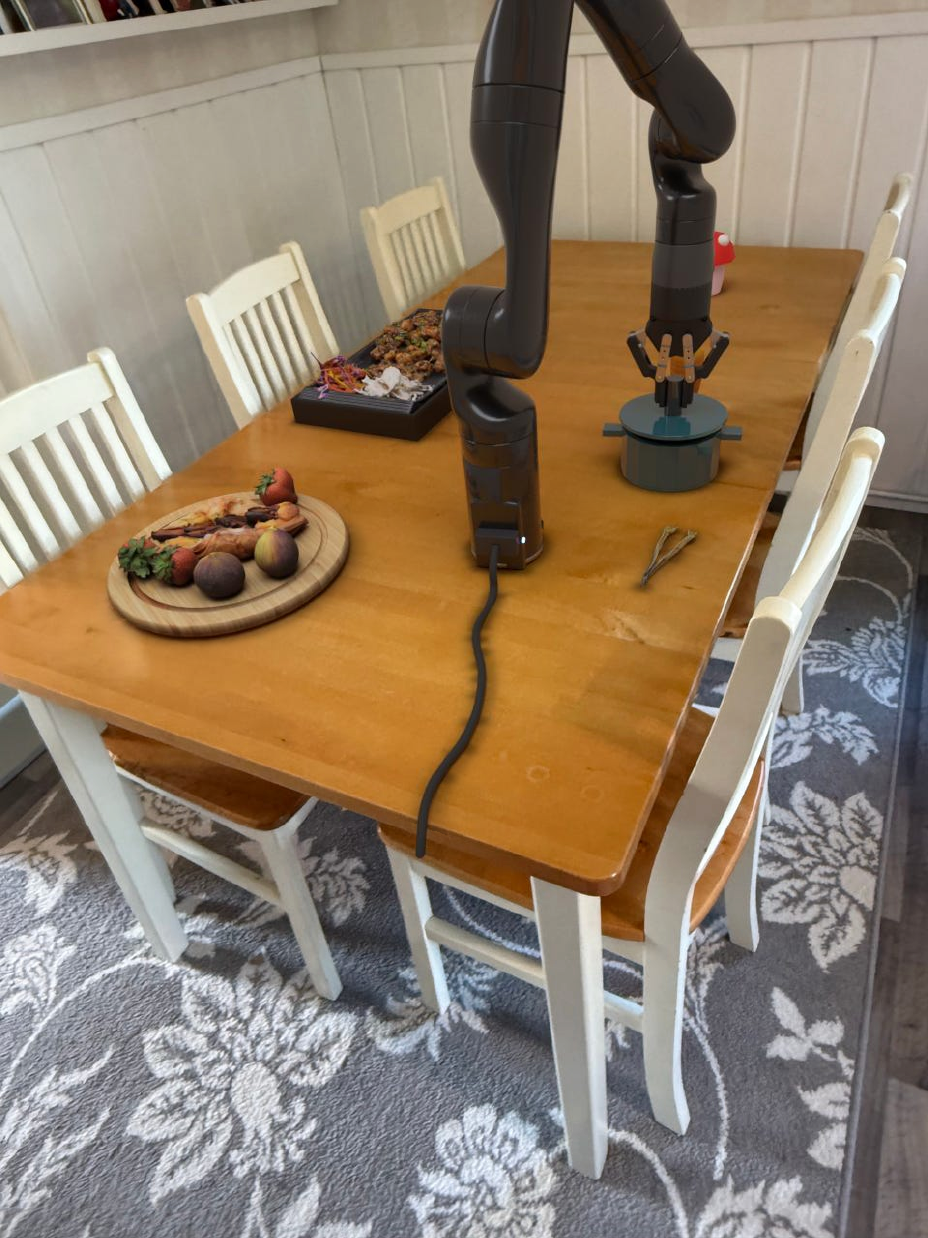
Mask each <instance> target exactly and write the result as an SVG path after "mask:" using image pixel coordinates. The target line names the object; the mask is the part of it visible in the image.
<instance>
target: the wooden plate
mask: <svg viewBox="0 0 928 1238" xmlns="http://www.w3.org/2000/svg"><path fill="white" fill-rule="evenodd" d="M258 481H260V482H259V485H255V486H254V485H253V488H255V490H252V491H242V492H241V491H240V492H235V493H234V492H233V493H229V494H223V495H219V496H214V497H211V498H207V499H204V500H200V501H197V502H194V503H191V504H188V505H186V506H183V507H181V508H179V509H175V510H174V511H172V512H170V513H167V514H166V515H164V516H162V517H160V518H158V519H157V520H155V521H154V522H152V523H150V524H149V525H147V526H146V527H145V528H144V527H143V529H142V530H140V531H138V533H136V534H135V535H133V537H131V538H130V539H129V540H128V541H125V542H124V543H123V544H122V545H121V547H120V548H118V552H117V554H116V556H115V558H114V559H113V561H112V563H111V565H110V567H109V568H108V572H107V577H106V589H107V595H108V599H109V601H110V603H111V606H112V607H113V609H114V610H115V611H116V612H117V613H118V614H119V615H120V616H121V617H122V618H123V619H125V620H126V621H127V622H129V623H131V624H132V625H134V626H136V627H138V628H141V629H143V630H145V631H147V632H151V633H154V634H160V635H164V636H171V637H185V638H186V637H188V638H189V637H191V638H192V637H209V636H218V635H219V636H220V635H225V634H230V633H234V632H238V631H243V630H247V629H251V628H254V627H257V626H260V625H263V624H266V623H268V622H271V621H273V620H276V619H278V618H281V617H282V616H284V615H286V614H288V613H290V612H292V611H294V610H296V609H297V608H299V607H301V606H302V605H305V604H306V603H307V602H309V601H310V600H312V599H313V598H314V597H316V596H317V595H318V594H320V593H321V592H322V591H323V590H324V589H325V588H326V587H328V585H329V584H330V583H331V582H332V581H333V580H334V579H335V577H336V576H337V575H338V574H339V572H340V571H341V570H342V568H343V566H344V564H345V562H346V559H347V556H348V554H349V550H350V533H349V529H348V526H347V523H346V522H345V520H344V518H343V517H342V516H341V514H340V513H339V512H338V511H337V510H336V509H335V508H333V506H331V505H329V504H328V503H326V502H324V501H322V500H320V499H318V498H316V497H314V496H310V495H307V494H304V493H298V492H296V489H295V483H294V479H293V476H292V475H291V473H290V471H288V470H287V469H285V468H283V467H277V468H271V471H270V474H269V475H268V474H267V473H265V472H263V474H262V475H260V478H258Z"/></svg>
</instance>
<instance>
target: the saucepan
mask: <svg viewBox="0 0 928 1238" xmlns="http://www.w3.org/2000/svg"><path fill="white" fill-rule="evenodd" d="M603 437H605V438H621V440H620V442H621V443H620V445H621V446H620V469H621V473H622V475H623V477H624V478H625V479H626V480H627V481H628V482H629V483H631V484H633V485H634V486H637V487H639V488H642V489H645V490H649V491H652V492H662V493H680V492H688V491H692V490H695V489H699V488H702V487H704V486H705V485H707V484H709V483H711V482H712V481H714V479H715V478H716V477H717V474H718V473H719V465H720V454H721V446H722V445H721V444H722V441H738V442H739V441H740V442H741V441H742V439H743V426H733V425H732V426H731V425H724V426H723V427H722V428H721V429H719V430H718V431H716V432H714V433H712V434H710V435H707V436H704V437H700V438H695V439H689V440H658V439H651V438H646V437H643V436H640V435H637V434H634V433H632V432H630V431H629V430H627V429H626V428H625V427H623V425H622V424H621V422H619V423H618V422H604V423H603V428H602V438H603Z"/></svg>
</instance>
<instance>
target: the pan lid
mask: <svg viewBox="0 0 928 1238" xmlns="http://www.w3.org/2000/svg"><path fill="white" fill-rule="evenodd" d="M683 382H684V377H683V376H681V375H670V374H669V375H667V377H666V389H665V406H664V408H660V407H659V403H655V400H654V398H655V392H650V393H646V394H642V395H639V396H636V397H634V398H631V399H630V400H628V401H626V402H625V403H624V404H622V406H621V408H620V410H619V412H618V413H619V414H618V420H619V423H621V424H622V425H623V427H625V428H626V429H627V430H629V431H630V432H632V433H634V434H637V435H640V436H643V437H646V438H651V439H658V440H689V439H695V438H700V437H704V436H707V435H710V434H712V433H714V432H716V431H718V430H719V429H721V428H722V427H723V426H726V423H727V422H728V416H729V413H728V409H727V407H726V406H725V405H724V404H723V403H722V402H721V401H719V400H717V399H715V398H714V397H712V396H708V395H705V394H702V393H699V392H698V393H694V394H693V401H692V403H691V404H687V408H682V395H683Z"/></svg>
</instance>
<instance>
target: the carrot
mask: <svg viewBox="0 0 928 1238" xmlns="http://www.w3.org/2000/svg"><path fill="white" fill-rule="evenodd" d="M669 359H670V360H669V361H670V362H669V363H670V364H669V365H670V367H669V369H670V370H669V375H681V376H683V377H685V367H684V357H679V356H674V357H670V358H669ZM704 360H705V351H704V350H703V348H701V347H700V348H699V349H698V350H697V351H696V352H695V365H696V367H697V366H701V365H702V363H703V362H704ZM701 382H702V378H700V379H698V380H696V381H695V383H694V393H698V394H699V390H700V386H701Z"/></svg>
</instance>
